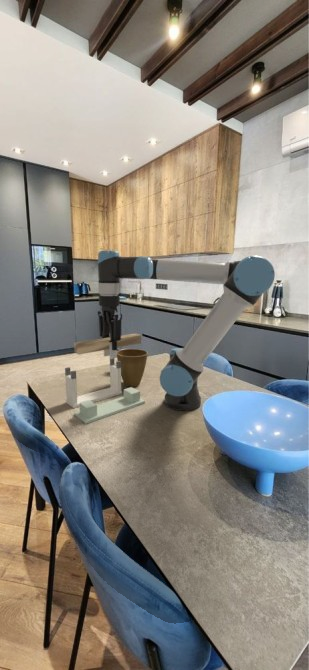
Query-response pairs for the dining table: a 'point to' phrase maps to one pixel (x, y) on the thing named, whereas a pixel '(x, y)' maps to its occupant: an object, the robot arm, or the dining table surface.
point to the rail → (105, 343)
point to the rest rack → (108, 406)
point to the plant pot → (132, 365)
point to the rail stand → (97, 395)
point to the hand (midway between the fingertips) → (110, 356)
